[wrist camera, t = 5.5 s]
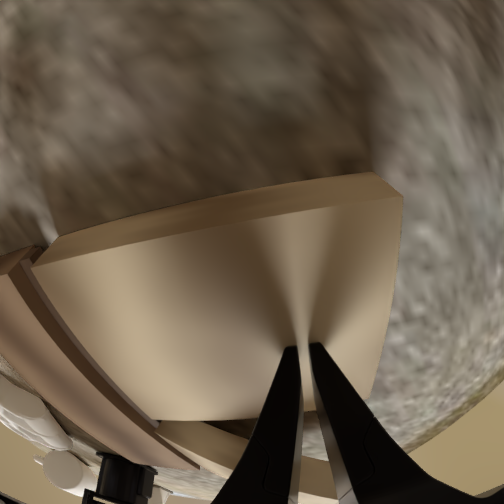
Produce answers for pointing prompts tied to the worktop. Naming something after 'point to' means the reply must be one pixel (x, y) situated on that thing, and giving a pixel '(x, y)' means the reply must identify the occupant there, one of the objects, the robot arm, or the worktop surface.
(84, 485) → the mug
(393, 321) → the worktop surface
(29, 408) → the white honeycomb tray
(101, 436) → the walnut board
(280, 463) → the robot arm
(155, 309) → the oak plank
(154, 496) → the skyscraper
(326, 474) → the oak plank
